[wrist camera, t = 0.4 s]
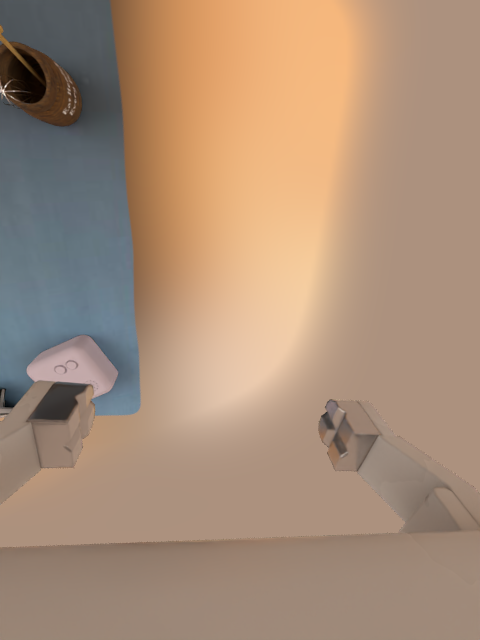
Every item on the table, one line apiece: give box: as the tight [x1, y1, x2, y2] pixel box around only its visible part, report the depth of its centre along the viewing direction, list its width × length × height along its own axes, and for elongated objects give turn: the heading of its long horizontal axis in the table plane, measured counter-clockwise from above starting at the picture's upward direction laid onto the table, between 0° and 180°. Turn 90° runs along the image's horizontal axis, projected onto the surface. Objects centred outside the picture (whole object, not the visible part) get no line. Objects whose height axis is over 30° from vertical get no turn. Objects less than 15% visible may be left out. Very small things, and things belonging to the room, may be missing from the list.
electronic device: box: [27, 335, 118, 398], centre depth 46 cm, size 10×5×10 cm
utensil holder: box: [0, 25, 82, 126], centre depth 27 cm, size 6×6×12 cm
